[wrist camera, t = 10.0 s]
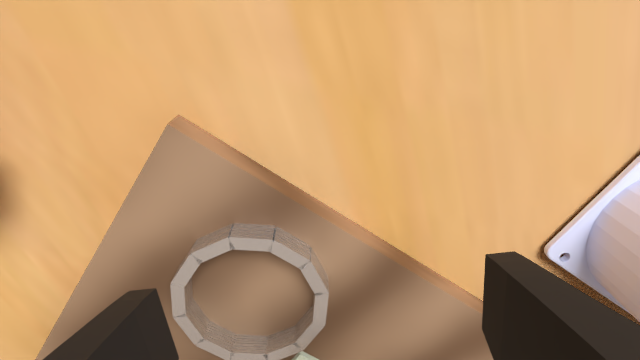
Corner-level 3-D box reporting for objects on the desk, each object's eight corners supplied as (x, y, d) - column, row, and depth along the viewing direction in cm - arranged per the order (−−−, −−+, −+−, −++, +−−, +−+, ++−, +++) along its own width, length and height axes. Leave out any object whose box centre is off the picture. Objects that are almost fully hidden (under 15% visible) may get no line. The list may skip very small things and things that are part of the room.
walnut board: (534, 333, 23) (548, 354, 22) (362, 484, 28) (365, 509, 27) (178, 114, 18) (167, 124, 17) (46, 347, 23) (29, 369, 22)
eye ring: (355, 271, 19) (358, 288, 18) (276, 364, 22) (274, 383, 21) (225, 196, 18) (219, 209, 17) (154, 304, 20) (144, 321, 19)
